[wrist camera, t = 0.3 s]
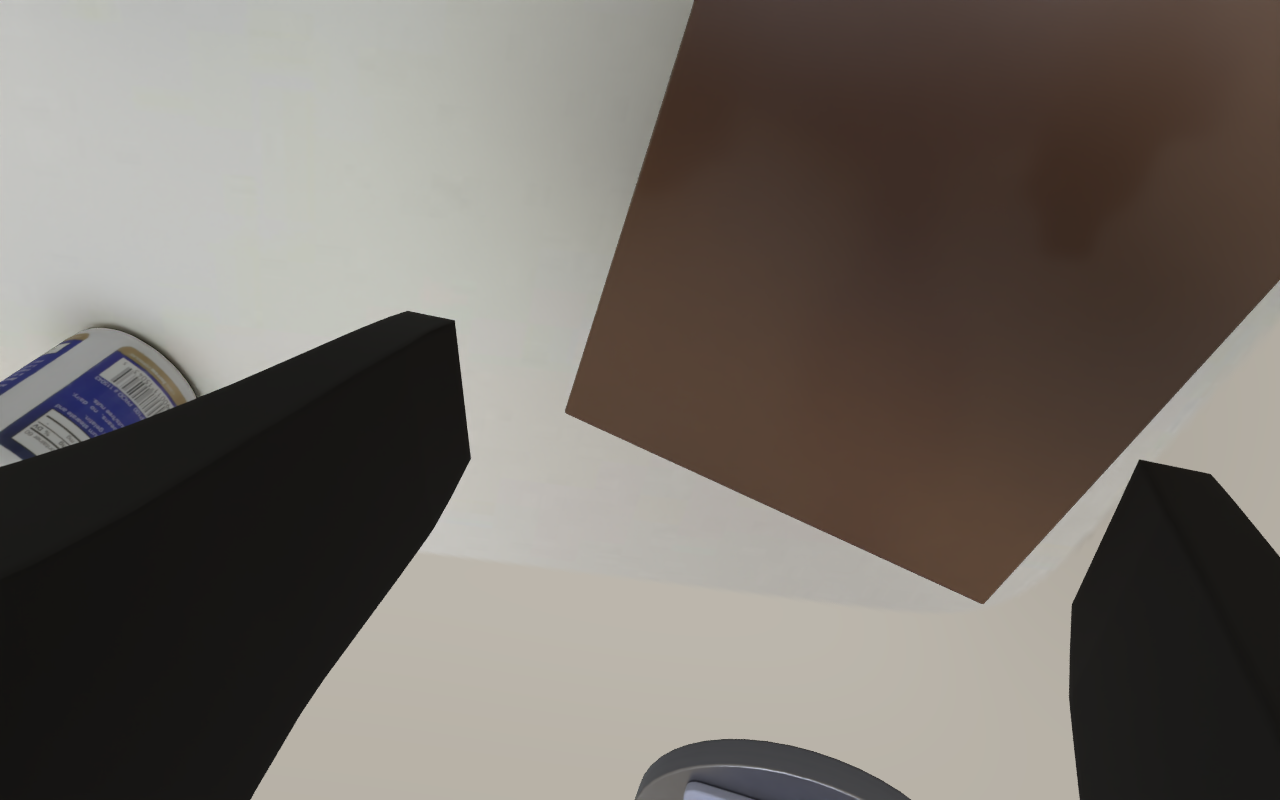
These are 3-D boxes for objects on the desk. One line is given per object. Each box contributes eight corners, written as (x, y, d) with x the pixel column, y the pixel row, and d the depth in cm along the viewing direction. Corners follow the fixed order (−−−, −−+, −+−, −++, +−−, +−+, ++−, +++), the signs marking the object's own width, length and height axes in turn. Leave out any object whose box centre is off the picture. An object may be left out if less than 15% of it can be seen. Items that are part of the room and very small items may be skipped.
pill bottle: (101, 429, 33) (-134, 607, 26) (54, 308, 30) (-228, 474, 23) (224, 466, 32) (12, 662, 25) (189, 344, 29) (-65, 531, 22)
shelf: (988, 388, 21) (983, 606, 15) (672, 248, 21) (563, 413, 16) (1427, -216, 13) (1710, -189, 8) (911, -409, 13) (853, -507, 8)
